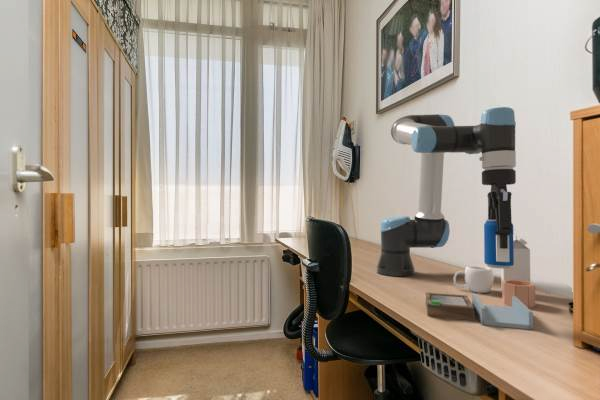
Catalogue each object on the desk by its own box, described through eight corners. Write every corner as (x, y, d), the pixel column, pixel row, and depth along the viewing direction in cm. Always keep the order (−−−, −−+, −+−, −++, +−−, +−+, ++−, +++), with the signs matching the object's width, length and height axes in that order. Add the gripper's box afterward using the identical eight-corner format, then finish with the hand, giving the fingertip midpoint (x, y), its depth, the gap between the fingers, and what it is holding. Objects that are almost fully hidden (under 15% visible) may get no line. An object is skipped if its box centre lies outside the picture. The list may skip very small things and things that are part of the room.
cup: (500, 298, 104) (500, 279, 104) (529, 301, 101) (529, 280, 101) (506, 306, 96) (506, 285, 97) (538, 308, 94) (537, 286, 94)
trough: (472, 307, 95) (472, 293, 96) (515, 311, 92) (515, 296, 92) (481, 324, 82) (481, 308, 82) (532, 329, 79) (532, 312, 79)
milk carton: (503, 295, 107) (503, 235, 107) (501, 290, 113) (500, 233, 114) (530, 298, 104) (530, 236, 104) (526, 292, 110) (526, 234, 110)
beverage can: (489, 268, 85) (488, 220, 85) (481, 264, 91) (480, 219, 91) (518, 269, 83) (517, 220, 83) (507, 264, 90) (507, 219, 90)
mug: (490, 288, 116) (490, 265, 116) (496, 295, 108) (496, 270, 108) (451, 286, 119) (451, 264, 119) (455, 292, 111) (455, 268, 111)
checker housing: (425, 302, 100) (425, 289, 100) (466, 306, 97) (466, 292, 97) (427, 316, 89) (427, 301, 89) (474, 320, 85) (474, 305, 85)
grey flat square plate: (430, 298, 98) (430, 294, 98) (462, 300, 96) (462, 297, 96) (432, 306, 90) (432, 303, 90) (467, 309, 88) (467, 305, 88)
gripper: (475, 172, 98) (476, 253, 98) (490, 166, 79) (491, 265, 79) (505, 172, 95) (506, 254, 95) (527, 164, 77) (528, 266, 77)
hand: (499, 259), depth 87 cm, fingers closed on beverage can, 6 cm apart
